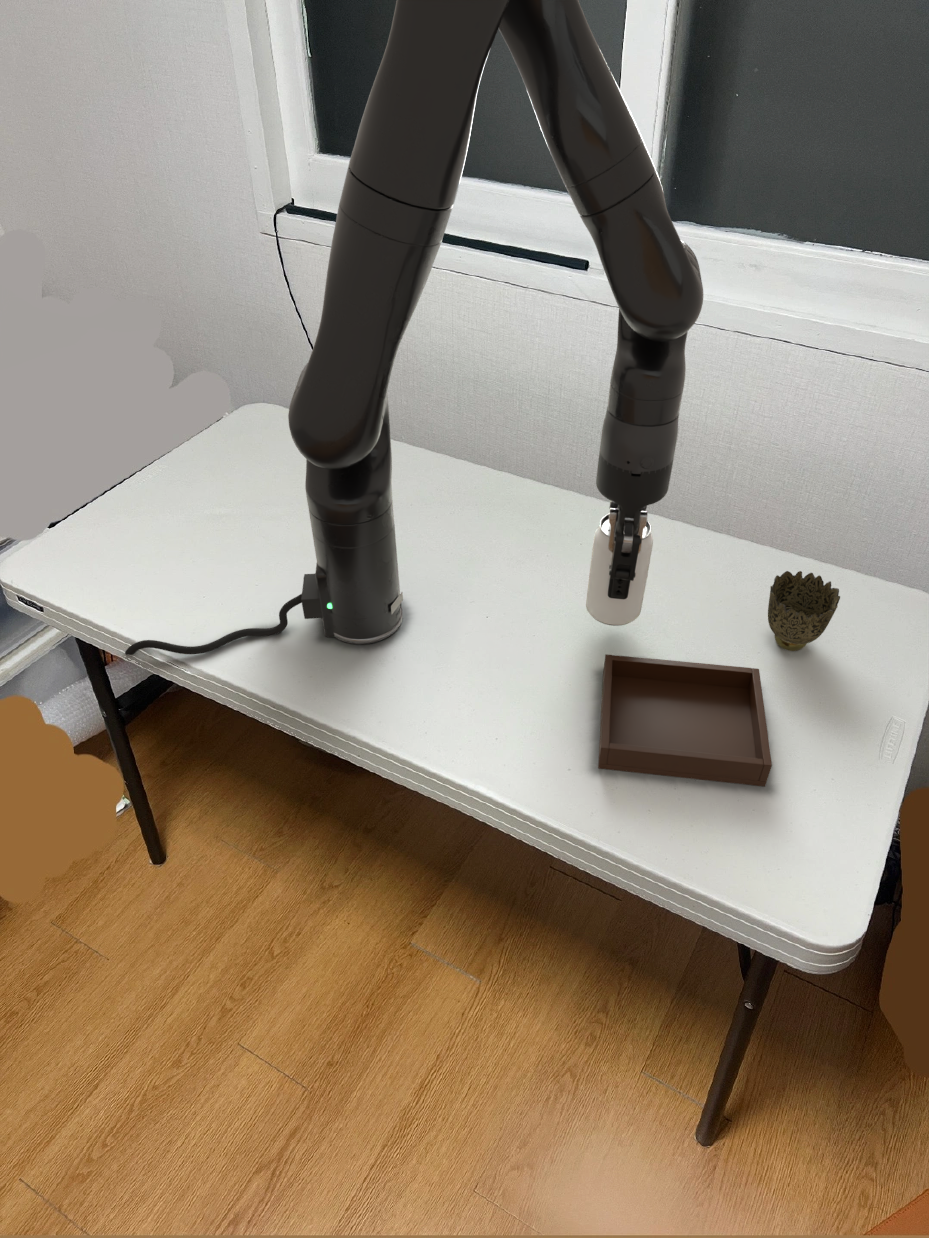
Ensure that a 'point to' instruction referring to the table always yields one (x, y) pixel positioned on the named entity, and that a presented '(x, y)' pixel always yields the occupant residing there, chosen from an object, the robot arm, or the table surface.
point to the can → (598, 583)
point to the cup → (800, 609)
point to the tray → (683, 720)
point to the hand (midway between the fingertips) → (618, 576)
